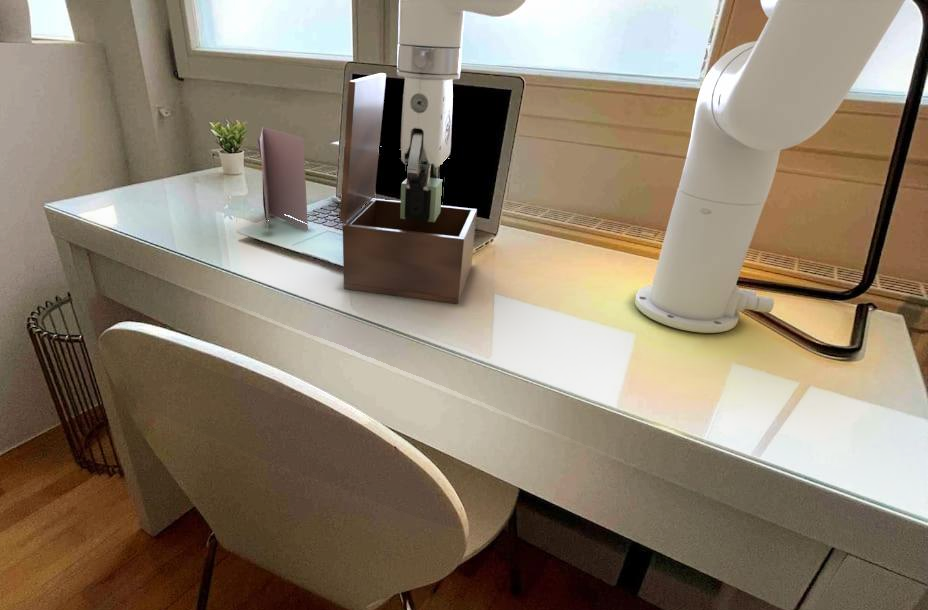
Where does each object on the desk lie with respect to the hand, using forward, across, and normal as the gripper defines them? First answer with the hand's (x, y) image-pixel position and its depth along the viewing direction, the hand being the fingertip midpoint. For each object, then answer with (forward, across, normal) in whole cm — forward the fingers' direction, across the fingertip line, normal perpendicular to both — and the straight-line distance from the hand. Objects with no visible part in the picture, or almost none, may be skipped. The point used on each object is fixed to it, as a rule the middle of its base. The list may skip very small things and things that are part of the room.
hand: (421, 212), depth 76 cm
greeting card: (+10, +16, +27) cm, 33 cm away
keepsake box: (+9, 0, +1) cm, 10 cm away
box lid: (-8, 0, +8) cm, 11 cm away
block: (0, 0, 0) cm, 0 cm away
